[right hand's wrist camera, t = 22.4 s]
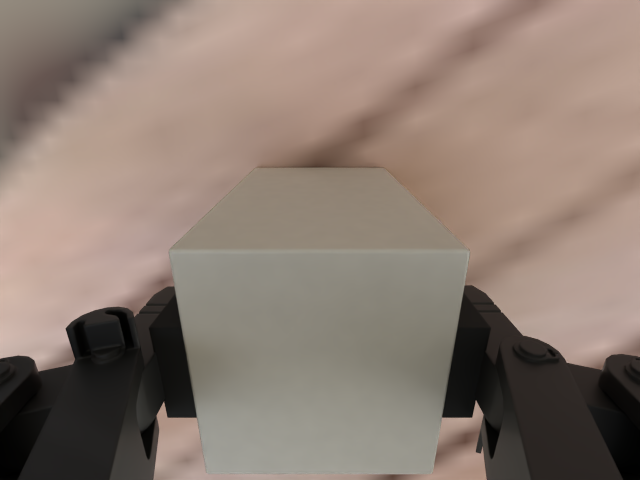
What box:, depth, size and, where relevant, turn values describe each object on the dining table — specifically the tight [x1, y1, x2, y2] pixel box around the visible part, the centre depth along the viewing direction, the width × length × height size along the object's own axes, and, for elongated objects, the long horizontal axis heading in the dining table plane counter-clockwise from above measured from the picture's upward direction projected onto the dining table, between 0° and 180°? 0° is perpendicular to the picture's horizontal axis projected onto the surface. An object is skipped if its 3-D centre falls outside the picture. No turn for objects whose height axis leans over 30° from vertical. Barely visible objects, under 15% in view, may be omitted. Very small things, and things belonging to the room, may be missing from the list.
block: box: [169, 168, 470, 474], centre depth 13 cm, size 7×6×10 cm
